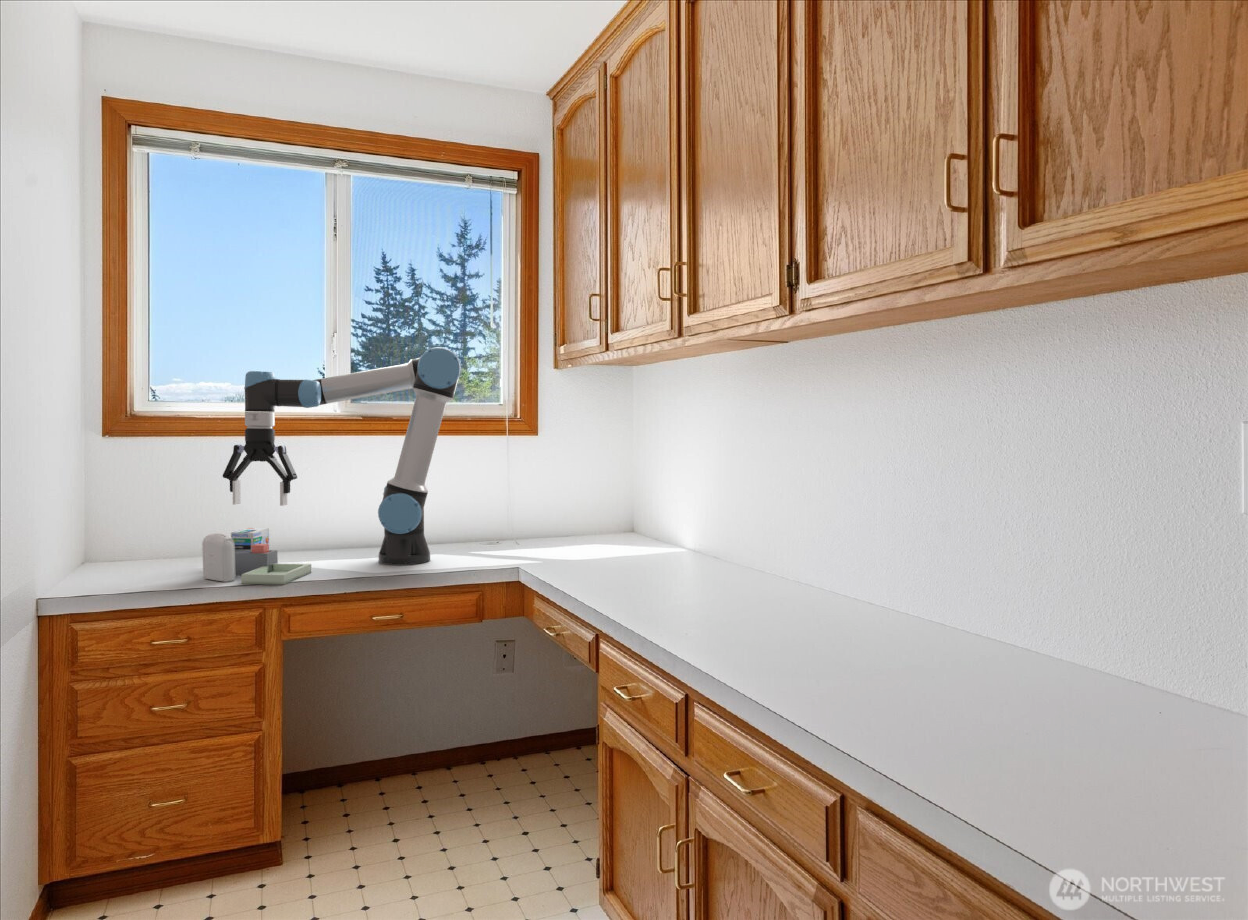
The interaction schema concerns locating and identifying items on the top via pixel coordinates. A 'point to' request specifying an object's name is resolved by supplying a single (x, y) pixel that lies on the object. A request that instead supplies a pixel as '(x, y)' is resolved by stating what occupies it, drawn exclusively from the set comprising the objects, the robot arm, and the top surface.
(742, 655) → the top surface
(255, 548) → the button
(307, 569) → the pale green tray
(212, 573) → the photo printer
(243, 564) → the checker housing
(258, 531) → the light bulb box
